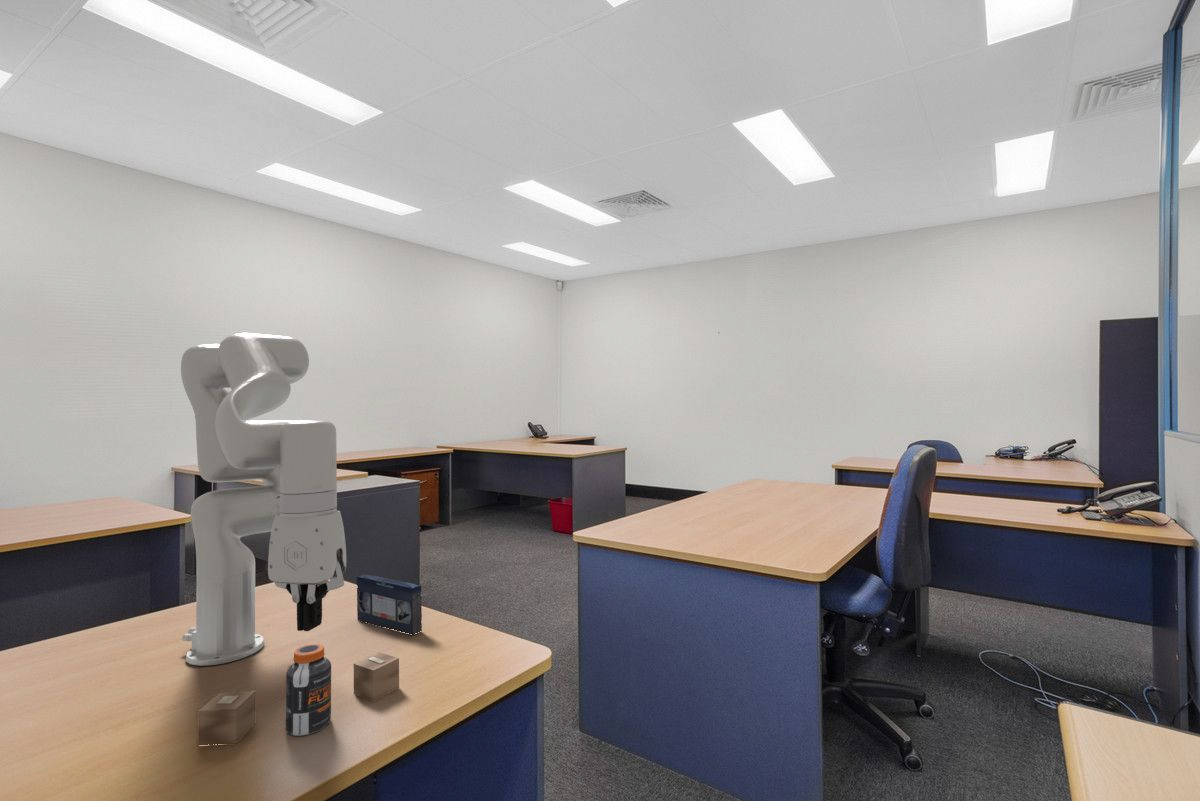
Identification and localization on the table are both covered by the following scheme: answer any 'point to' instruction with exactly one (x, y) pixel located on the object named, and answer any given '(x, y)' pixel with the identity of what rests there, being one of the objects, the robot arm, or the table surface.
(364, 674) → the marked cube two
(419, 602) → the vhs cassette tape
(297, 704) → the pill bottle
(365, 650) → the table surface
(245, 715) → the marked cube one
